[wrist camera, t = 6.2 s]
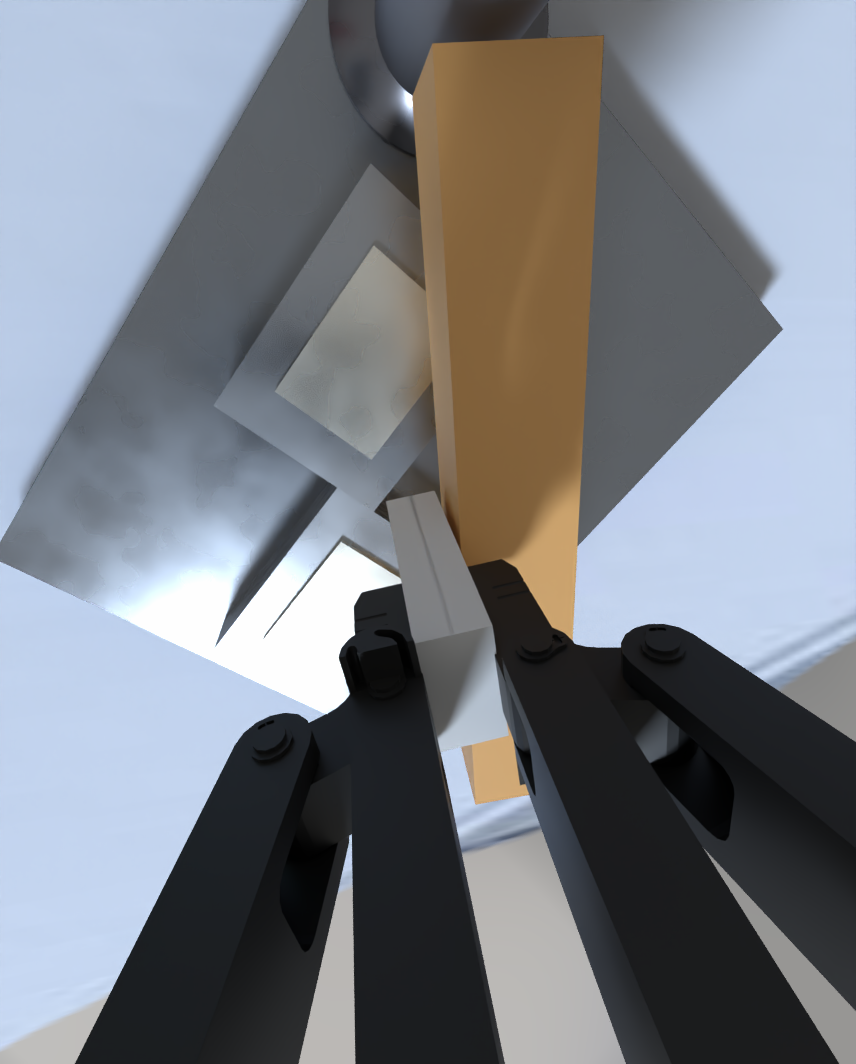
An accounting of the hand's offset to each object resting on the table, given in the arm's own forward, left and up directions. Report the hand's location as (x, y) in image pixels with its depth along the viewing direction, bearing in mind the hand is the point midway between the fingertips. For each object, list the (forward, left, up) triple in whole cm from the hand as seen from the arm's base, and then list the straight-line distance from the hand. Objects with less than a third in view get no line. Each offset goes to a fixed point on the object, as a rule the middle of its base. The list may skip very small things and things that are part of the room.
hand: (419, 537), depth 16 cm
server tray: (+1, +1, -7) cm, 7 cm away
